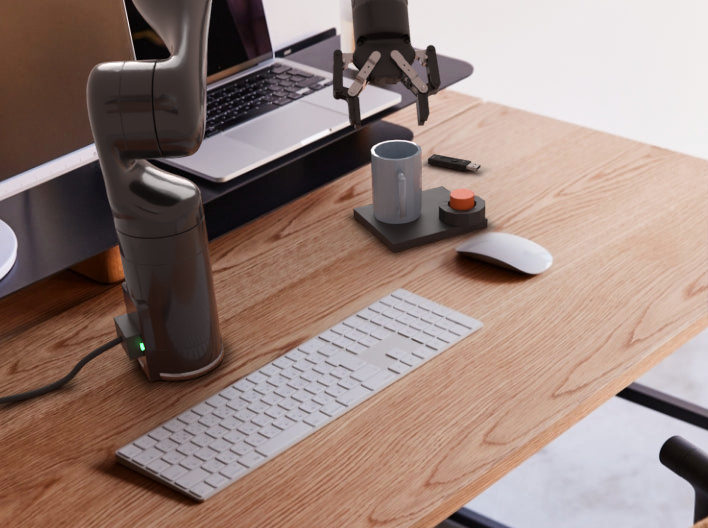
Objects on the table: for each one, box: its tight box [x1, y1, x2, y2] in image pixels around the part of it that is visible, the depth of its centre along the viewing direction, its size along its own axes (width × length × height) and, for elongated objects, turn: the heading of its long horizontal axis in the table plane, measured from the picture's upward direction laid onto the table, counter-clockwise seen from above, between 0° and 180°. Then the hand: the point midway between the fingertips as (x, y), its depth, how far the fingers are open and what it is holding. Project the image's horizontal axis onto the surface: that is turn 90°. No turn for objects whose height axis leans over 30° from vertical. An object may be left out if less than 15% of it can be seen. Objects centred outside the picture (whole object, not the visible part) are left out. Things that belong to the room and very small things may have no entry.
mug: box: [370, 139, 423, 224], centre depth 140 cm, size 9×6×9 cm
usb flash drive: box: [427, 153, 482, 172], centre depth 158 cm, size 8×2×1 cm, turn 59°
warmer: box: [352, 185, 489, 253], centre depth 143 cm, size 15×13×3 cm
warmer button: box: [450, 188, 475, 210], centre depth 141 cm, size 3×3×2 cm
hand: (389, 125), depth 142 cm, fingers open, 8 cm apart
